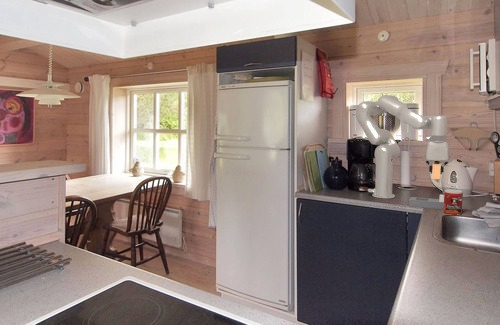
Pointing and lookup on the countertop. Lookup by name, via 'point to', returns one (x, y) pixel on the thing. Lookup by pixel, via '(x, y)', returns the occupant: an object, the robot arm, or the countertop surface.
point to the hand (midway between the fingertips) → (436, 173)
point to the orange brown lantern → (436, 170)
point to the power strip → (427, 202)
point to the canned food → (453, 201)
